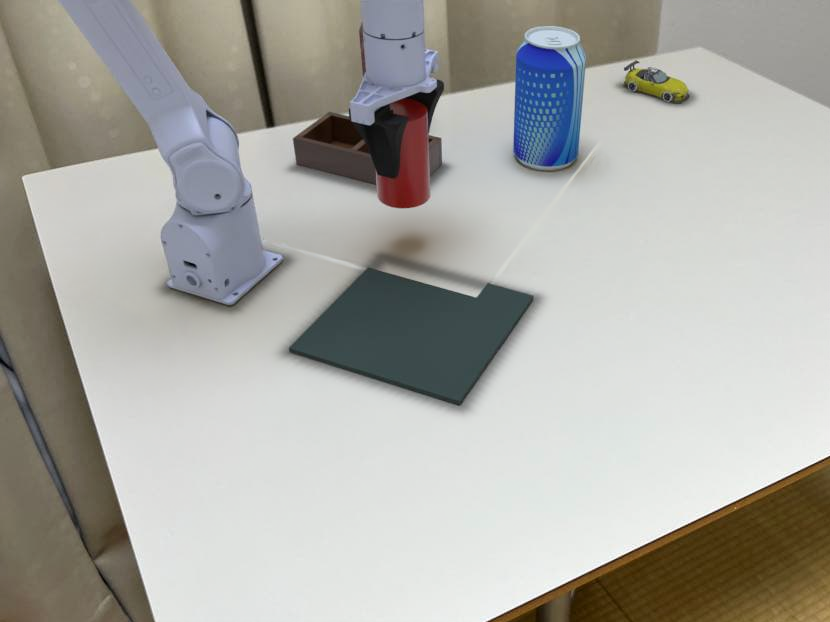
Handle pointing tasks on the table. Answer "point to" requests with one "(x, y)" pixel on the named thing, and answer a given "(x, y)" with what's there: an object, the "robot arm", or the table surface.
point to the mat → (413, 332)
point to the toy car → (655, 83)
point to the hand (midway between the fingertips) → (401, 162)
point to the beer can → (548, 98)
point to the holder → (345, 149)
